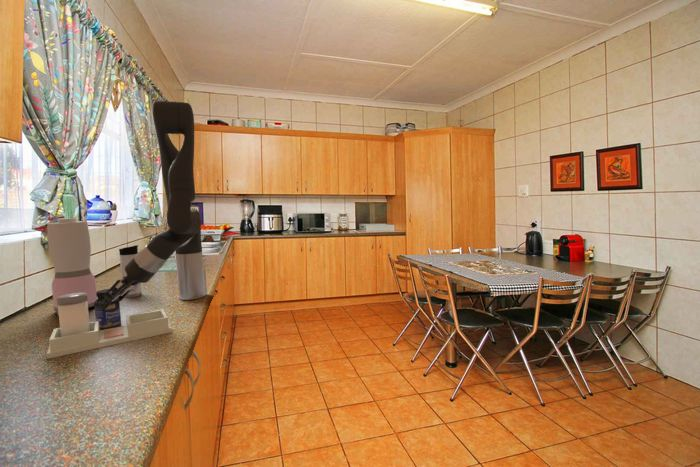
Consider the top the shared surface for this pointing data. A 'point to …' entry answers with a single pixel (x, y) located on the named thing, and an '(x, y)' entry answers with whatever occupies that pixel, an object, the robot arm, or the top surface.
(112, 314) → the pill bottle
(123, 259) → the travel mug
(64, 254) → the blender
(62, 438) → the top surface
